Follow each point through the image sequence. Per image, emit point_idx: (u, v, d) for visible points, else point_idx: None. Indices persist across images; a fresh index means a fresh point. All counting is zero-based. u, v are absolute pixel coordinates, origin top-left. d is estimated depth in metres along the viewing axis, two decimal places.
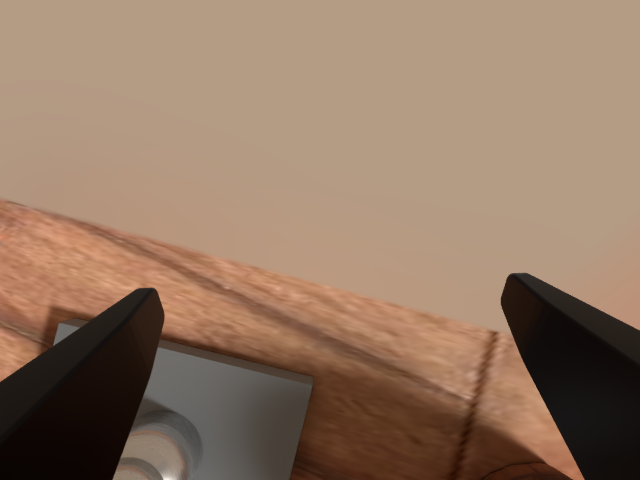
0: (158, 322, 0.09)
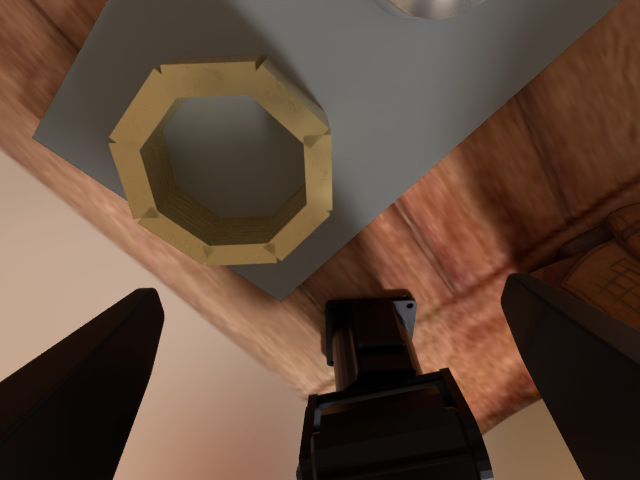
0: (158, 322, 0.09)
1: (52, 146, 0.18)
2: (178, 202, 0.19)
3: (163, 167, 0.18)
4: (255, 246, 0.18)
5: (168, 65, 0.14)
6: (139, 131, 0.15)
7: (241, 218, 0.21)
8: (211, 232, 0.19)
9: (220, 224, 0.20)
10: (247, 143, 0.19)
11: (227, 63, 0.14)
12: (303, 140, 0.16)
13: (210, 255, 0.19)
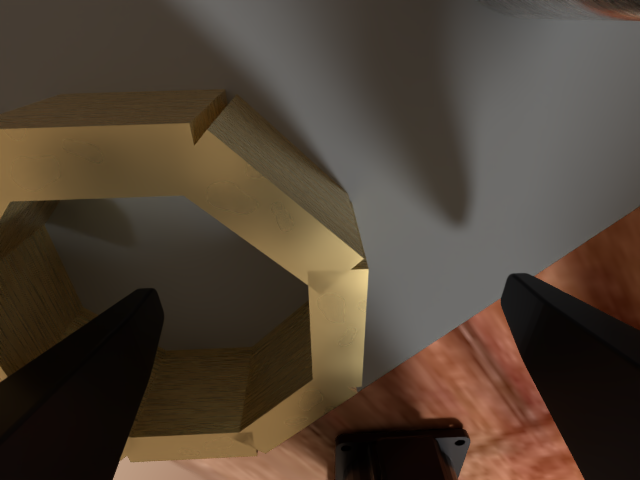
0: (158, 322, 0.09)
1: None
2: None
3: (44, 293, 0.10)
4: (216, 436, 0.10)
5: None
6: None
7: (200, 353, 0.12)
8: None
9: (163, 368, 0.12)
10: (204, 244, 0.10)
11: (121, 127, 0.06)
12: (308, 279, 0.07)
13: (135, 449, 0.10)
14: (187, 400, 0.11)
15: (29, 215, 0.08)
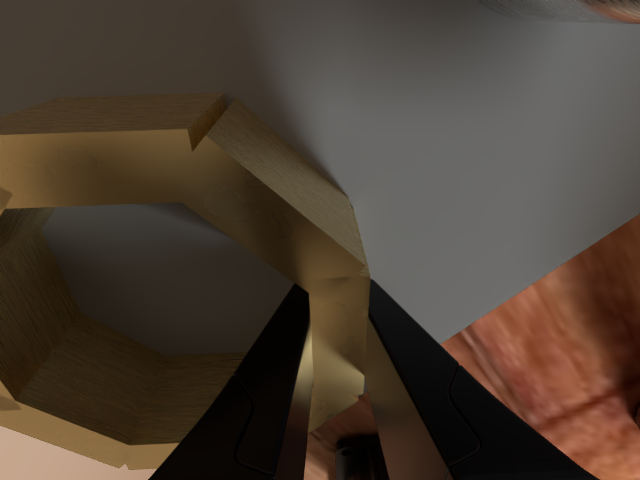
0: None
1: None
2: (76, 354, 0.10)
3: (40, 299, 0.10)
4: None
5: None
6: None
7: (199, 359, 0.12)
8: (139, 404, 0.11)
9: (162, 374, 0.12)
10: (203, 248, 0.10)
11: (118, 133, 0.06)
12: (308, 287, 0.07)
13: (134, 457, 0.10)
14: (186, 407, 0.11)
15: (25, 221, 0.08)
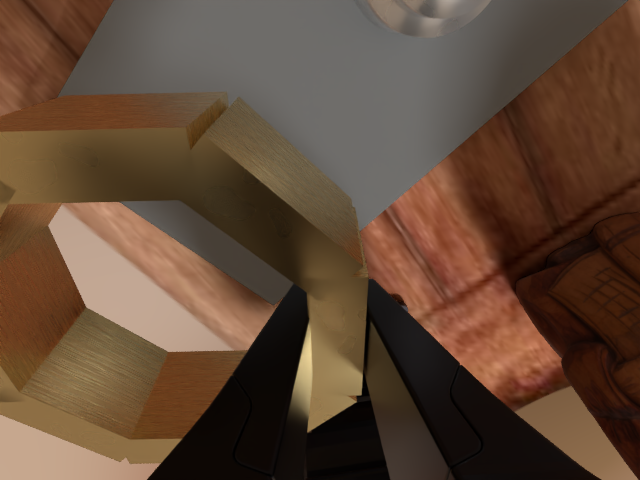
0: None
1: None
2: (81, 348, 0.10)
3: (46, 293, 0.10)
4: None
5: None
6: None
7: (201, 356, 0.12)
8: (141, 399, 0.11)
9: (164, 369, 0.12)
10: None
11: (117, 131, 0.06)
12: (306, 287, 0.07)
13: (134, 451, 0.10)
14: (187, 403, 0.11)
15: (30, 216, 0.08)
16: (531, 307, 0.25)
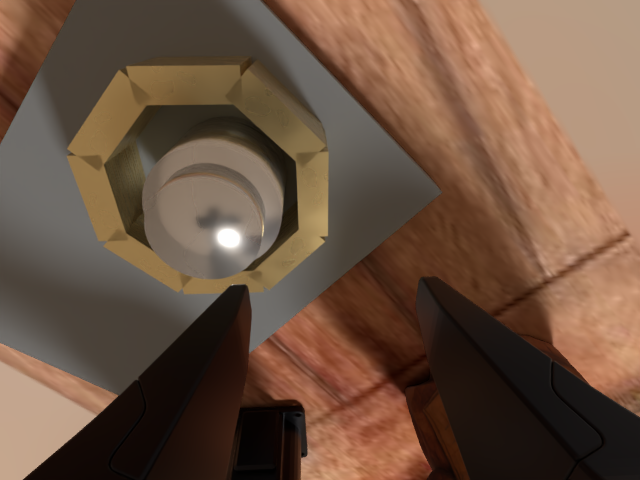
0: (249, 318, 0.09)
1: None
2: None
3: (135, 181, 0.16)
4: (238, 274, 0.16)
5: (136, 67, 0.12)
6: (103, 143, 0.13)
7: None
8: None
9: None
10: (113, 307, 0.21)
11: (207, 66, 0.12)
12: (296, 157, 0.14)
13: (188, 283, 0.16)
14: None
15: (140, 124, 0.14)
16: (413, 418, 0.26)
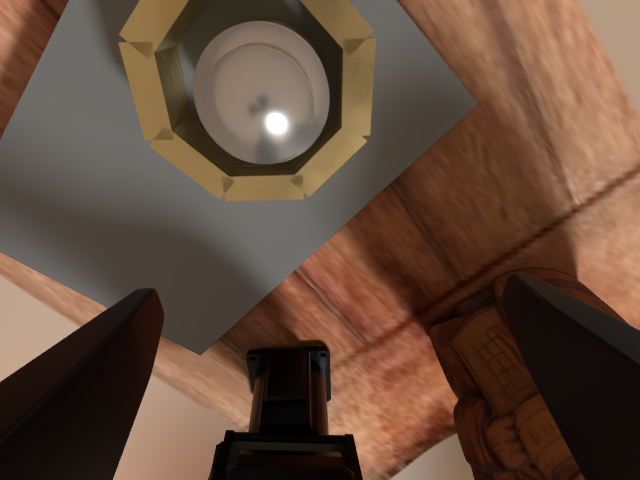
0: (158, 322, 0.09)
1: None
2: (194, 129, 0.17)
3: (178, 86, 0.16)
4: (280, 178, 0.16)
5: None
6: (154, 27, 0.13)
7: None
8: (230, 164, 0.17)
9: (239, 159, 0.18)
10: (148, 231, 0.21)
11: None
12: (343, 44, 0.14)
13: (230, 188, 0.17)
14: (259, 167, 0.17)
15: (187, 16, 0.14)
16: (439, 354, 0.27)
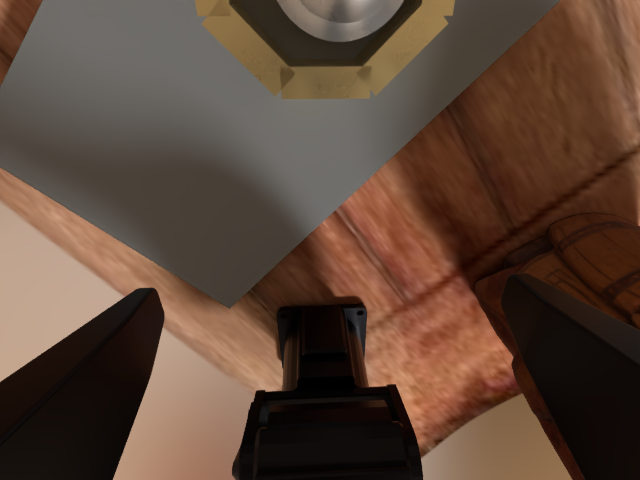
0: (158, 322, 0.09)
1: None
2: (247, 17, 0.15)
3: None
4: (346, 70, 0.15)
5: None
6: None
7: (317, 59, 0.17)
8: (287, 60, 0.15)
9: (292, 62, 0.16)
10: (183, 155, 0.19)
11: None
12: None
13: (288, 82, 0.15)
14: (319, 63, 0.15)
15: None
16: (487, 309, 0.25)
